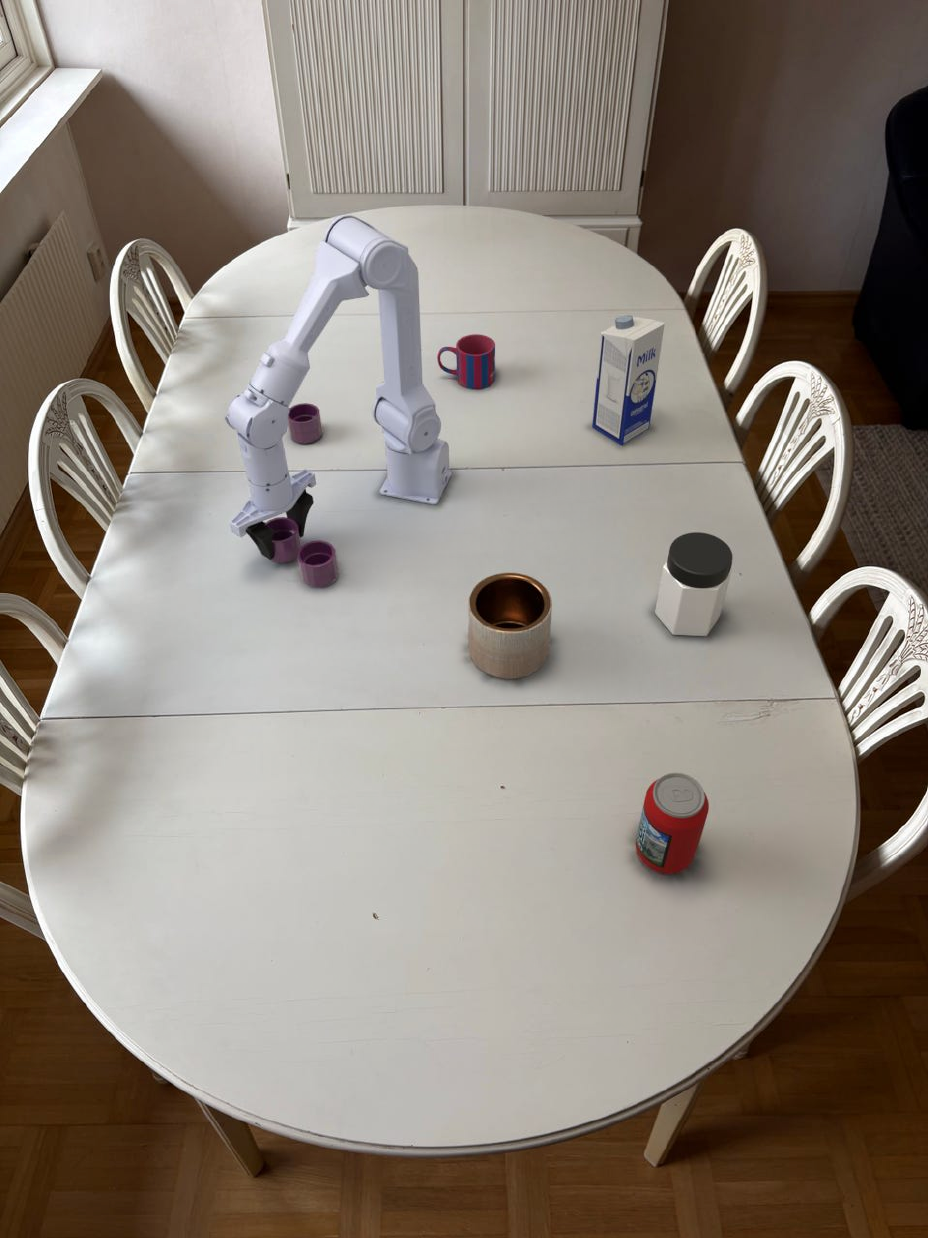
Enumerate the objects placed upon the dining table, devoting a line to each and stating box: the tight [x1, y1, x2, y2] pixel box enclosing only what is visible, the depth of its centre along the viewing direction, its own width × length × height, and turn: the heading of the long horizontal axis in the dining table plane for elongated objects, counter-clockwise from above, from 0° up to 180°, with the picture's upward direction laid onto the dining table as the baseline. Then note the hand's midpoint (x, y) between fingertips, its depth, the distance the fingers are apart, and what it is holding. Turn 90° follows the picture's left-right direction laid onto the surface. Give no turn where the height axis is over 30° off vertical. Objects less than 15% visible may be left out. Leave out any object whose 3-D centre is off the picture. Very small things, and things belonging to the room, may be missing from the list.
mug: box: [436, 333, 496, 390], centre depth 174 cm, size 7×10×7 cm
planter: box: [467, 572, 553, 680], centre depth 131 cm, size 11×11×10 cm
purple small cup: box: [296, 539, 340, 588], centre depth 143 cm, size 5×5×4 cm
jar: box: [654, 531, 733, 637], centre depth 134 cm, size 9×8×12 cm
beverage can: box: [635, 772, 710, 875], centre depth 109 cm, size 7×7×12 cm
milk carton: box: [591, 315, 666, 447], centre depth 159 cm, size 7×7×20 cm
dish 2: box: [288, 402, 323, 445], centre depth 165 cm, size 5×5×4 cm
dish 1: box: [265, 516, 303, 564], centre depth 146 cm, size 5×5×4 cm
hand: (283, 544), depth 147 cm, fingers closed on dish 1, 5 cm apart
